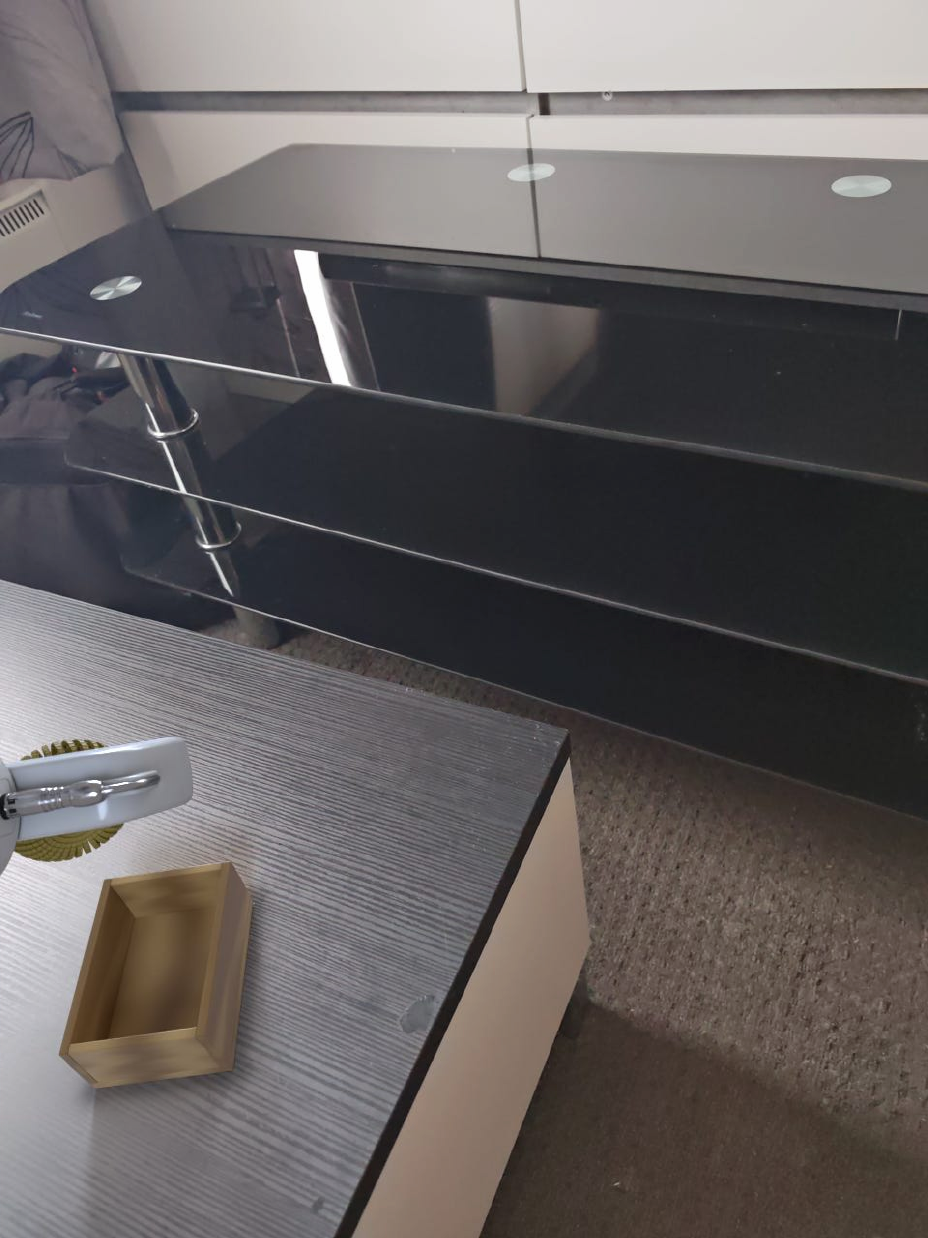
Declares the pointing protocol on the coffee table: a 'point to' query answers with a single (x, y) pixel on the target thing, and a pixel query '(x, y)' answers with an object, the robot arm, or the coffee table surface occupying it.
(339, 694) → the coffee table surface
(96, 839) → the sculpture
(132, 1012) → the wooden box
